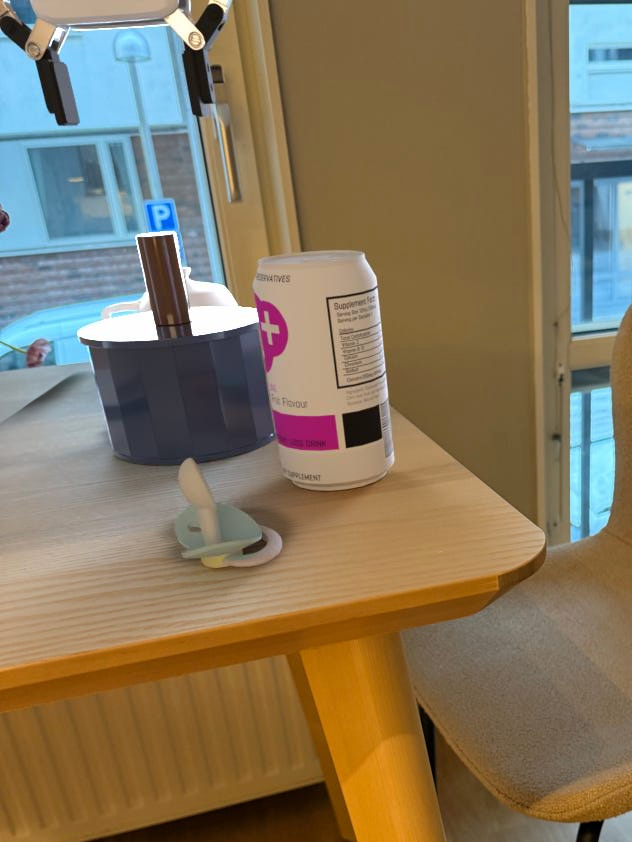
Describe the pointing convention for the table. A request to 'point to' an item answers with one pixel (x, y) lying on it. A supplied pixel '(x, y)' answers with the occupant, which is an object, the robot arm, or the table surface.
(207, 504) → the pacifier
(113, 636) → the table surface
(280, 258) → the supplement can
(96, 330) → the lid
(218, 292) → the teapot
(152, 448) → the canister
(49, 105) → the robot arm
